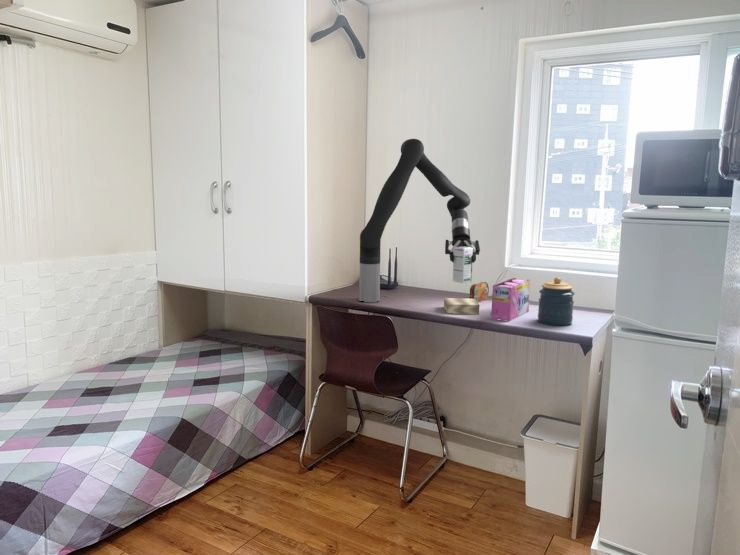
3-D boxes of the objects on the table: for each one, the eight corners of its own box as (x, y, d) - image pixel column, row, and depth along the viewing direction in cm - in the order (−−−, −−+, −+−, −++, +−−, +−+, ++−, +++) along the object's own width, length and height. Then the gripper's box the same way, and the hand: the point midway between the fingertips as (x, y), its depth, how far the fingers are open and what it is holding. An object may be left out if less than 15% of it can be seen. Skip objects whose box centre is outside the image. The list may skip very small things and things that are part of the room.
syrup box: (462, 283, 227) (464, 248, 225) (451, 281, 231) (453, 246, 229) (471, 282, 231) (473, 247, 228) (460, 279, 235) (462, 245, 233)
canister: (543, 326, 209) (546, 279, 206) (533, 318, 222) (535, 274, 219) (577, 326, 209) (581, 280, 206) (565, 318, 222) (568, 274, 219)
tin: (474, 303, 248) (475, 285, 246) (467, 302, 249) (468, 284, 248) (489, 298, 259) (489, 281, 258) (482, 297, 261) (483, 280, 260)
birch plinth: (447, 313, 227) (447, 304, 226) (443, 307, 240) (444, 298, 239) (479, 314, 226) (479, 304, 226) (474, 307, 239) (474, 298, 239)
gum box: (512, 308, 239) (513, 277, 237) (530, 311, 235) (532, 279, 232) (490, 318, 219) (492, 285, 217) (509, 321, 215) (511, 287, 213)
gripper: (444, 225, 235) (446, 255, 226) (478, 225, 235) (482, 256, 225) (443, 236, 241) (445, 266, 232) (476, 237, 241) (479, 267, 231)
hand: (463, 261), depth 228 cm, fingers closed on syrup box, 8 cm apart
